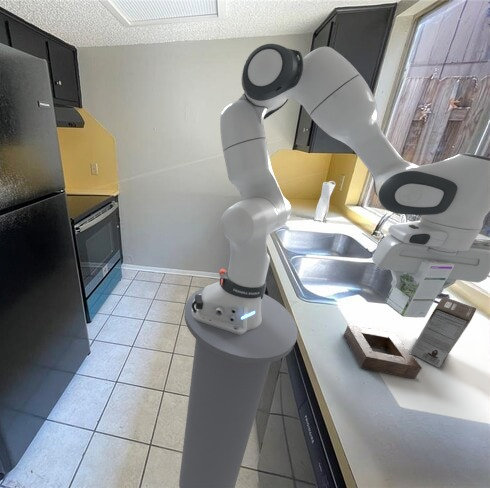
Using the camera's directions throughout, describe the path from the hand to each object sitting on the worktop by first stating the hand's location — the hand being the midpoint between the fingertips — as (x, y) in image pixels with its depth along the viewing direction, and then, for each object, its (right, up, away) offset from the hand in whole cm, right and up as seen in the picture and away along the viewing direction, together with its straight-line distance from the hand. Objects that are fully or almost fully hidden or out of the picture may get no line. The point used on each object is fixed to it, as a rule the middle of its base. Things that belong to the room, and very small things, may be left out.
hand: (414, 289), depth 60 cm
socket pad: (0, -20, +11) cm, 23 cm away
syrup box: (0, -6, +3) cm, 6 cm away
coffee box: (+15, -20, +12) cm, 28 cm away
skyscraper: (+51, +28, +122) cm, 135 cm away
